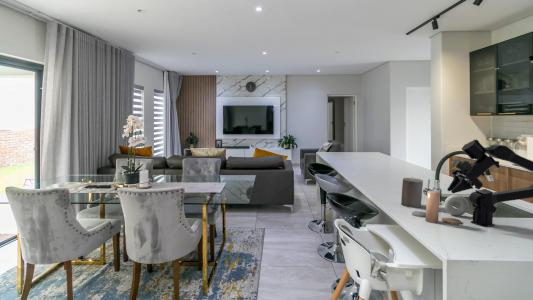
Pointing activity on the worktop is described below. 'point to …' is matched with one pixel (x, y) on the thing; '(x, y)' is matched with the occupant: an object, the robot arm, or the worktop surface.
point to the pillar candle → (412, 192)
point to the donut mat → (451, 220)
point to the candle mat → (419, 214)
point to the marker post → (432, 206)
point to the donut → (456, 211)
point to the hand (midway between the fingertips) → (449, 191)
